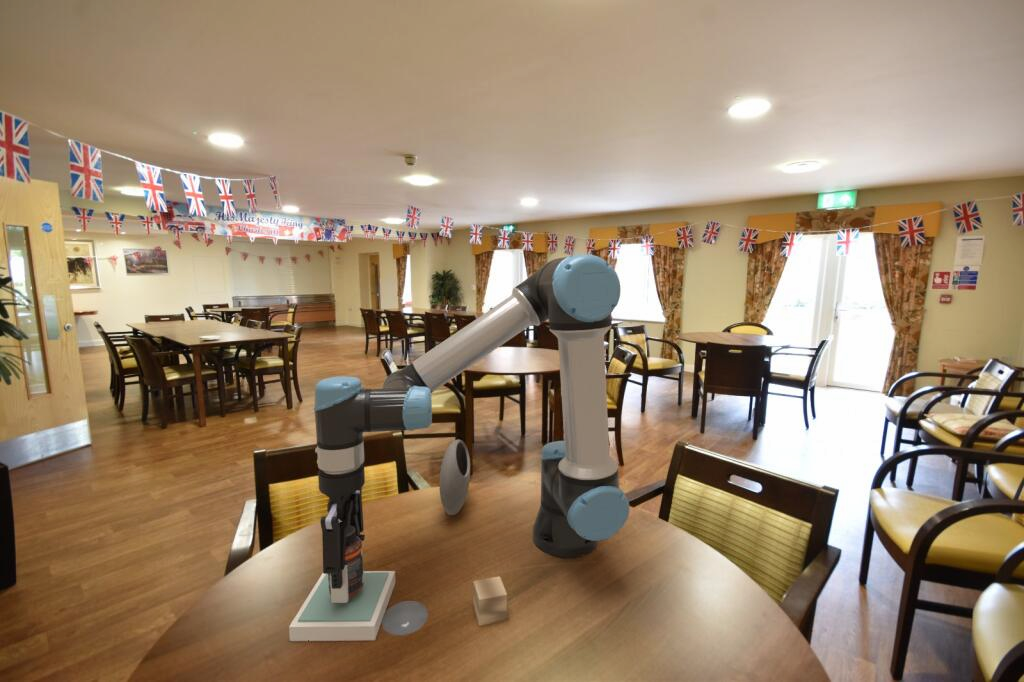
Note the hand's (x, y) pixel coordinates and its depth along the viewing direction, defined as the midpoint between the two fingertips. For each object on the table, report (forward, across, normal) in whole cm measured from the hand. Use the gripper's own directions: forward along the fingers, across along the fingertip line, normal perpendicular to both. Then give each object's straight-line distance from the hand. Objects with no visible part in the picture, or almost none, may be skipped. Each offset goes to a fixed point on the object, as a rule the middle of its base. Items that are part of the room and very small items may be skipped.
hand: (346, 587), depth 78 cm
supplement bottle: (0, 0, 0) cm, 0 cm away
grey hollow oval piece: (+5, -35, +16) cm, 39 cm away
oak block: (+4, +1, +26) cm, 26 cm away
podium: (+4, 0, 0) cm, 4 cm away
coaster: (+5, +2, +11) cm, 12 cm away
